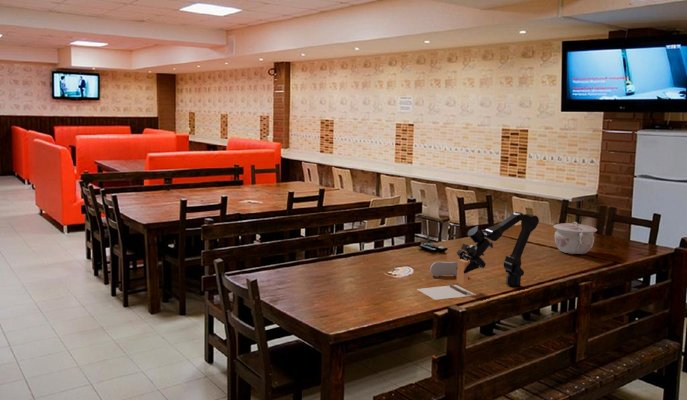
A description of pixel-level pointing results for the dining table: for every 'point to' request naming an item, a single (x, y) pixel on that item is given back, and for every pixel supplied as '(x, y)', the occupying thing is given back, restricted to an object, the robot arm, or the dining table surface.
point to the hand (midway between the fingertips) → (460, 271)
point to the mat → (444, 292)
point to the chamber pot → (574, 237)
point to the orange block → (462, 272)
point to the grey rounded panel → (444, 268)
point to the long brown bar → (458, 290)
